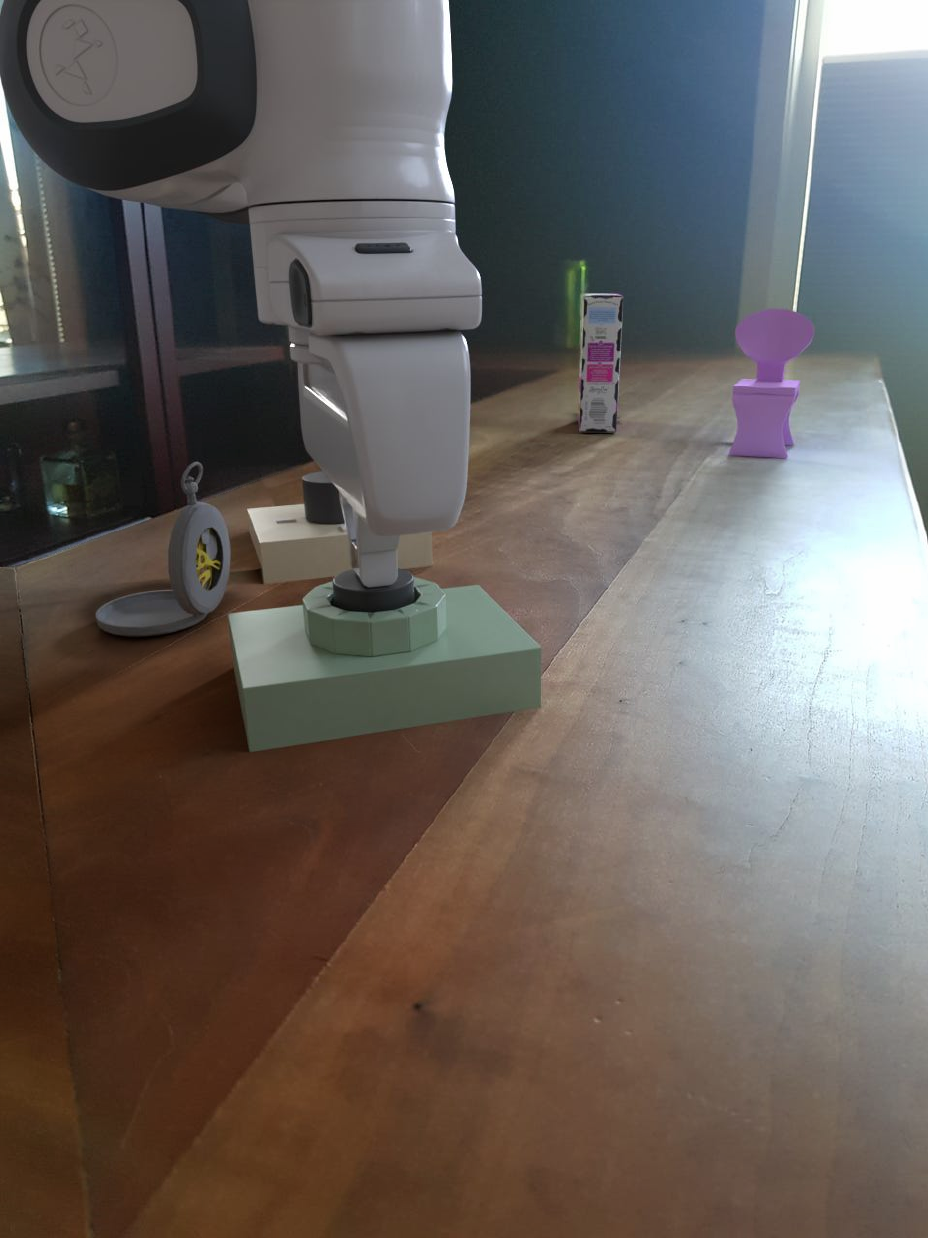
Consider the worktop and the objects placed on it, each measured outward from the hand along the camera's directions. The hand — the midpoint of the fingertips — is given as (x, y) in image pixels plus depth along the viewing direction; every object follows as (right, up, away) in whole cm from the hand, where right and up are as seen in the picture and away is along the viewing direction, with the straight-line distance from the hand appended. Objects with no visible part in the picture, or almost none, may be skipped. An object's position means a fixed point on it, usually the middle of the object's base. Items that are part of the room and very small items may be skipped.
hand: (374, 578), depth 47 cm
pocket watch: (-14, -3, +11) cm, 18 cm away
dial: (-5, +6, +23) cm, 24 cm away
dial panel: (-5, +3, +24) cm, 25 cm away
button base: (0, -6, +2) cm, 6 cm away
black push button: (0, -2, +1) cm, 2 cm away
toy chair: (+38, +17, +60) cm, 73 cm away
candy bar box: (+22, +23, +77) cm, 83 cm away
